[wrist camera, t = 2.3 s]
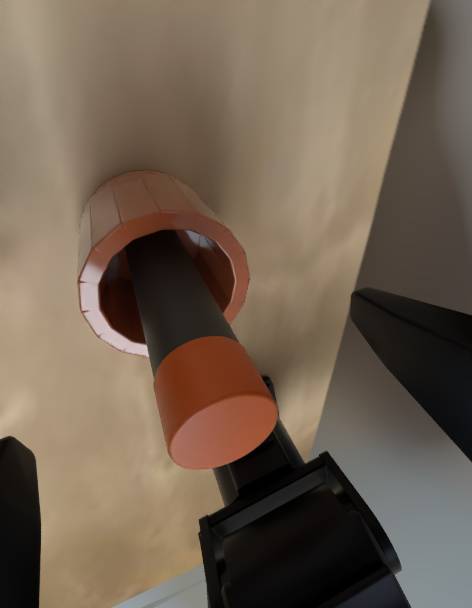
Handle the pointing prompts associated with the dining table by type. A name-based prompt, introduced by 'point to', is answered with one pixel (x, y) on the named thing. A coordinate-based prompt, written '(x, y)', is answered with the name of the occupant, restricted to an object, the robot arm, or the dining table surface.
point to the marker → (196, 360)
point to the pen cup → (139, 222)
